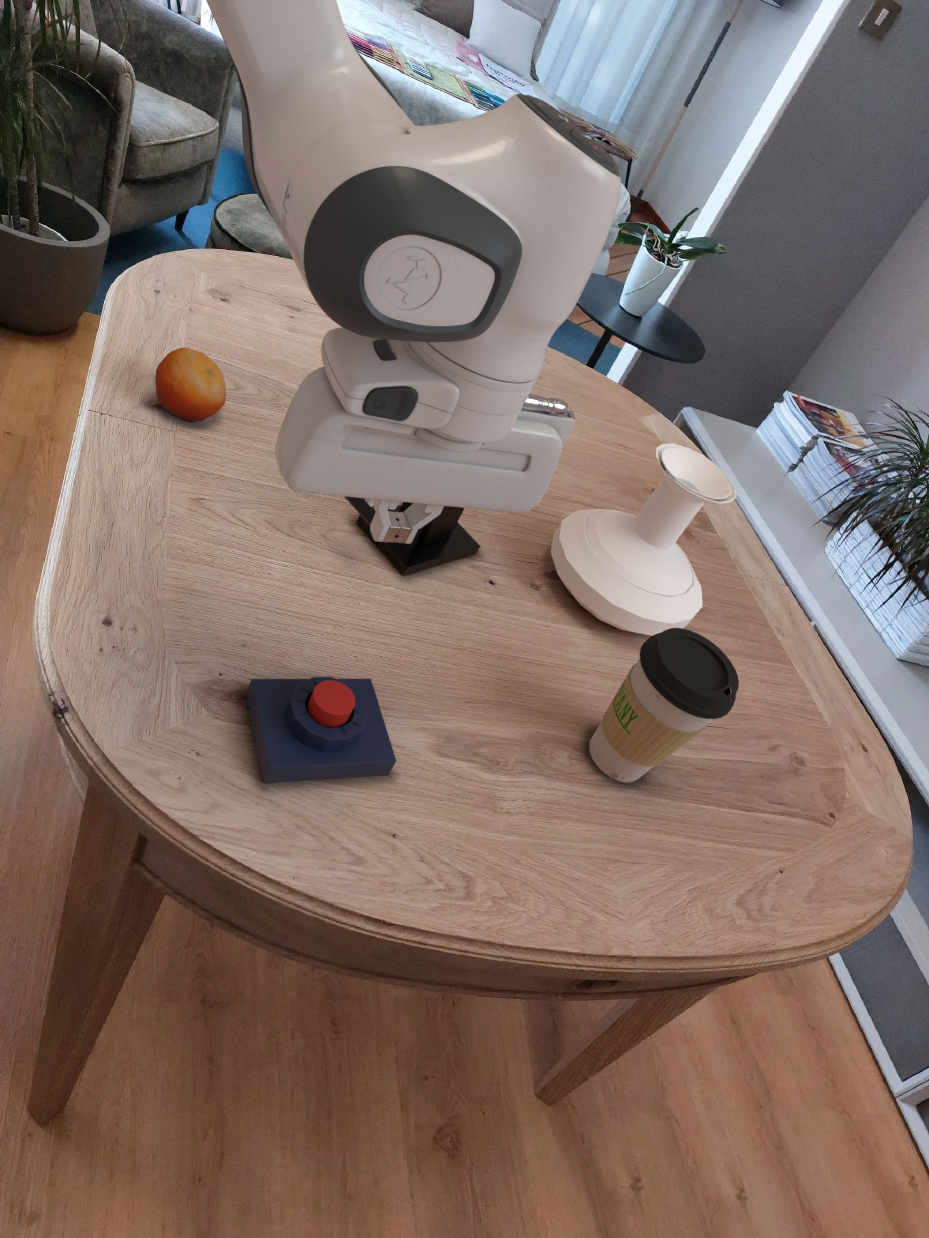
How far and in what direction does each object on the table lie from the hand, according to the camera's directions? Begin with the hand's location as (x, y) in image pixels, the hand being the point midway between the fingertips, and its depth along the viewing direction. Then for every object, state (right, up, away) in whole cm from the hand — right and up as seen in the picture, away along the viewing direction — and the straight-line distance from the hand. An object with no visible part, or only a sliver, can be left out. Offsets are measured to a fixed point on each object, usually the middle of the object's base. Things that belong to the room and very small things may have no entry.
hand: (389, 537), depth 63 cm
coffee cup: (+21, -20, +22) cm, 37 cm away
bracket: (0, +3, +34) cm, 34 cm away
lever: (+1, +9, +25) cm, 26 cm away
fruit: (-27, +18, +34) cm, 47 cm away
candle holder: (+24, -3, +43) cm, 49 cm away
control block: (-7, -16, +9) cm, 20 cm away
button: (-6, -14, +7) cm, 17 cm away
